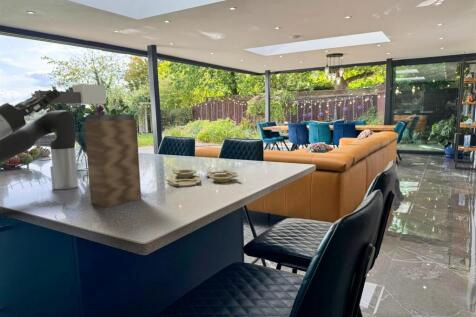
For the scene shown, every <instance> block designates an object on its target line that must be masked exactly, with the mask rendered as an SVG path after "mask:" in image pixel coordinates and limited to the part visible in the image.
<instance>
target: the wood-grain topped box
mask: <svg viewBox="0 0 476 317" xmlns="http://www.w3.org/2000/svg"><path fill="white" fill-rule="evenodd" d="M83 123H84V133H85V134H84V135H85V146H86V157H87V158H86V159H87V168H88V169H87V170H88V174H89V175H88V181H89V182H88V185H89V193H90V203H91V204H94V205H97V206H100V207H103V208H109V207H113V206H117V205H120V204H121V205H122V204H125V203H129V202H133V201H136V200H142V191H141V190H142V189H141V175H140V171H141V170H140V158H139V157H140V156H139V143H138V142H139V141H138V124H137V119H135V114H134V113H133V114H132V113H131V114H129V113H121V114H86V115H85V120H84V122H83Z"/></svg>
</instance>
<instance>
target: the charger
mask: <svg viewBox="0 0 476 317" xmlns="http://www.w3.org/2000/svg"><path fill="white" fill-rule="evenodd" d="M51 91H52V90H51ZM51 91H48V90H35V91H34V97H35V98H39V97H41V96H42V95H46V94H47V93H49V92H51ZM57 91H58V90H57ZM58 92H59V94H60V96H59V97H57V98H55V99H54V100H52V101H50V102H51V104H58V105H59V104H64V105H65V104H71V105H74V104H75V105H77V104H79V105H102V104H103V105H105V104H107V92H106V85H104V84H93V83H92V84H91V83H90V84H89V83H77V84H73V85H72V91H58ZM42 101H43V103H45V101H44V100H42Z"/></svg>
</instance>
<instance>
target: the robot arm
mask: <svg viewBox="0 0 476 317" xmlns="http://www.w3.org/2000/svg"><path fill="white" fill-rule="evenodd" d="M47 91H51V92H49V93H47V94H46V95H42V96H41V97H39V98H35V96H31V97H30V98H27V99H25V100H24V101H19V102H18V103H16V104H15V105H13V104H12V103H10V102H6V103H3V104H1V105H0V164H2V163H3V162H7V161H8V160H11V159H12V158H14V157H16V156H19V155H20V154H22V153H24V152H26V151H28V150H30V149H32V147H33V146H34V145H35V144H36V143H37V142H38V140H40V139H41V138H43V137H45V136H47V135H50V134H53V133H56V138H55V139H54V140H52V141H50V155H51V164H52V165H51V166H50V177H51V178H50V179H51V180H50V181H51V188H52V189H55V190H69V189H74V188H75V189H76V188H77V187H79V183H78V182H79V181H78V171H77V169H78V168H77V158H76V148H75V147H76V146H75V144H76V141H77V135H76V134H77V132H76V130H77V129H76V128H77V127H76V126H77V125H76V119H75V116H74V115H73V113H72V112H70V111H69V110H64V109H63V110H62V109H61V110H51V111H48V112H46V113H45V114H43V115H41V116H39V117H38V118H36V119H34V120H32V121H30V122H28V123H27V121H26V119H25V117H28V116H29V117H31V116H33V115H35V113H36V114H37V113H39V112H41V111H42V110H43V109H45V108H46V107H47V106H49V105H50V104H52V103H51V102H50V101H52V100H54V99H55V98H57V97H59V96H60V94H59V92H58V89H53V90H47ZM42 100H44V101H45V103H43V101H42Z"/></svg>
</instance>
